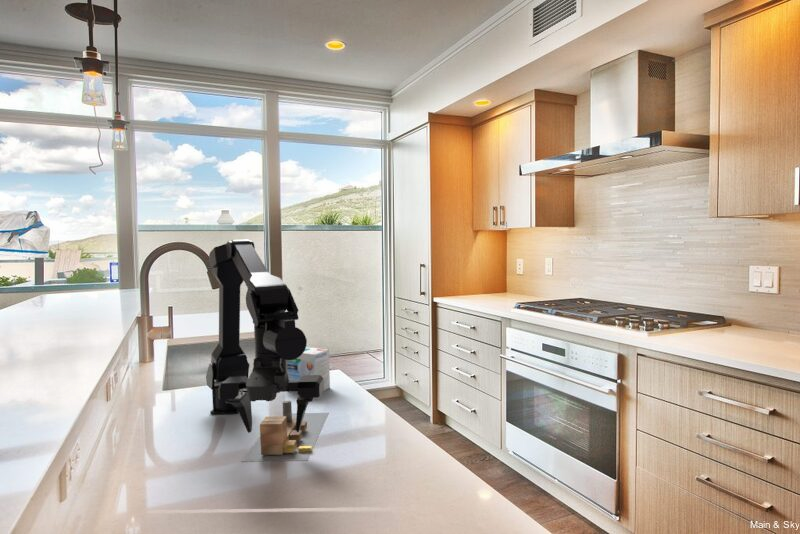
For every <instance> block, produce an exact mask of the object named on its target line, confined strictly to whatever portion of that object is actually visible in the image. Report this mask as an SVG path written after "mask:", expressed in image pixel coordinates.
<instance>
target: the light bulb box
mask: <svg viewBox="0 0 800 534" xmlns="http://www.w3.org/2000/svg"><path fill="white" fill-rule="evenodd" d="M287 373H288V379H289V381H299V380H300V379H301V378H302V376H303V375H321V376H322V377H323V379H324V390H323V391H322V392H324V391H326V390H328V389H330V388H331V379H330V378H331V376H330V374H331V373H330V350H329V348H318V347H309V346H306V348H305V350H304V352H303V354H302V355H301V356H300V357H298V358H296V359H294V360H287Z"/></svg>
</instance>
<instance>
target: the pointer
mask: <svg viewBox="0 0 800 534" xmlns="http://www.w3.org/2000/svg"><path fill="white" fill-rule="evenodd" d="M311 451H312V452H313V449H312V446H299V448H298V452H311ZM312 452H311V453H312Z"/></svg>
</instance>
